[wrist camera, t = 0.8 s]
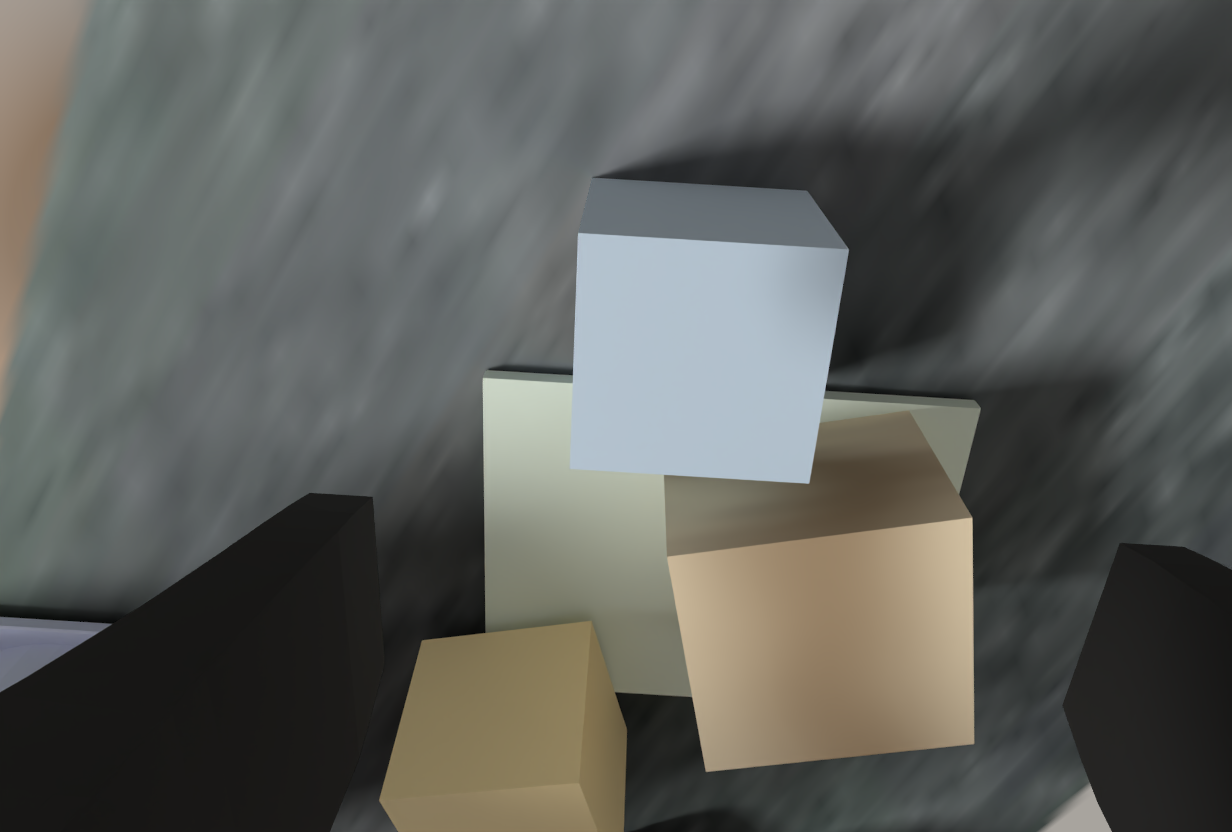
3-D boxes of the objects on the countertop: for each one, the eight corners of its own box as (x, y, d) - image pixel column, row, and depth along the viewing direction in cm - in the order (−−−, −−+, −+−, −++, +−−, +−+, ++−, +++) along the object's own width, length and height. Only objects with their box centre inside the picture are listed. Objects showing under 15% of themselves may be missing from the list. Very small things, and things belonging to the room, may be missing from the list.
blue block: (584, 373, 19) (569, 469, 15) (592, 176, 17) (578, 232, 14) (778, 385, 19) (809, 483, 15) (806, 189, 17) (849, 249, 14)
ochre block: (472, 744, 23) (443, 903, 20) (421, 640, 21) (379, 800, 18) (627, 729, 23) (621, 891, 20) (591, 621, 21) (578, 782, 17)
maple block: (695, 634, 21) (706, 771, 18) (662, 445, 19) (666, 556, 15) (917, 608, 21) (974, 744, 17) (908, 410, 19) (972, 517, 15)
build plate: (488, 672, 22) (486, 684, 22) (486, 370, 19) (482, 377, 18) (900, 698, 22) (904, 710, 22) (974, 399, 19) (980, 408, 18)
